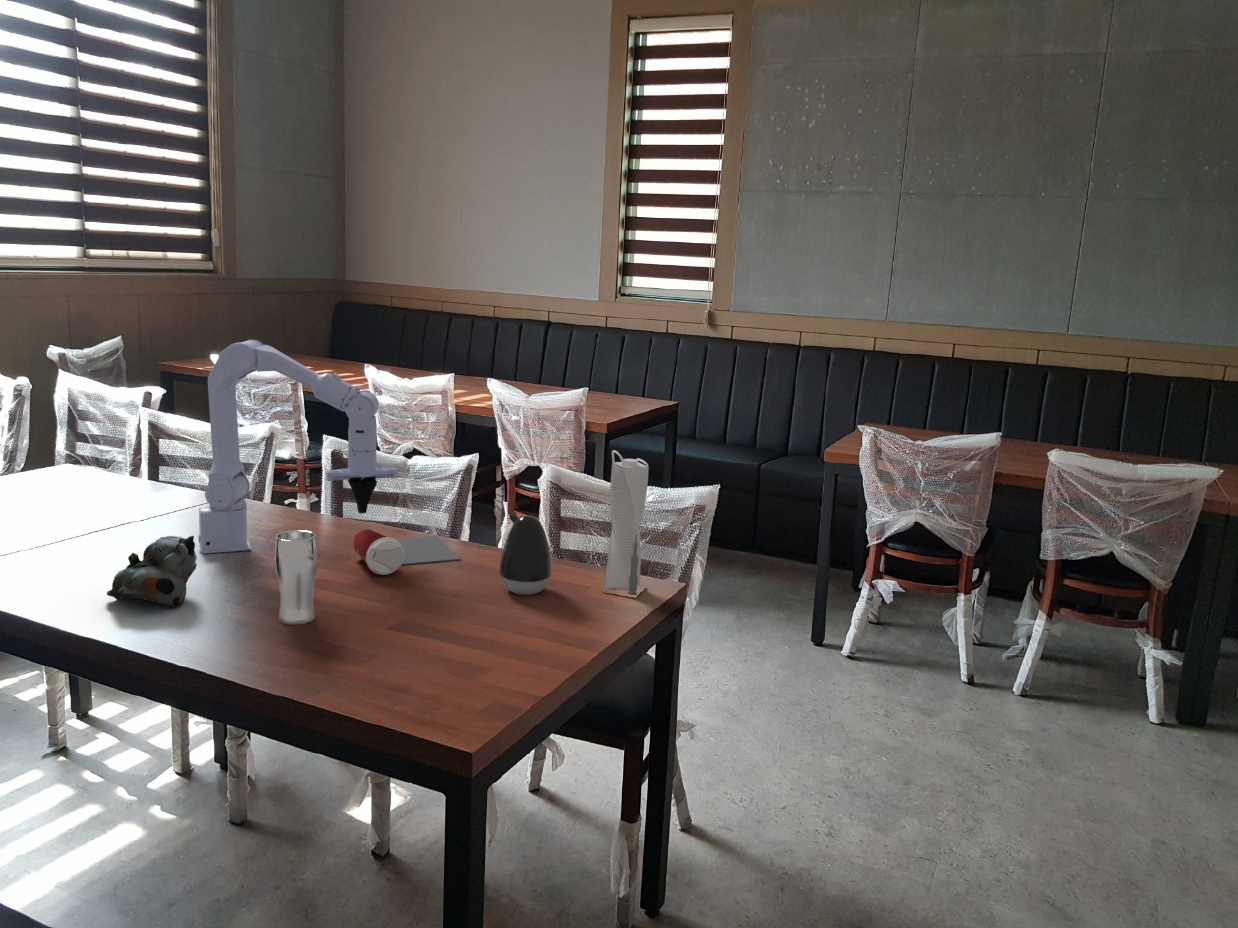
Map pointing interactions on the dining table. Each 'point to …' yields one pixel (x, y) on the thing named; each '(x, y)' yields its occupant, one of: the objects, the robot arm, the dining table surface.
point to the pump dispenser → (526, 557)
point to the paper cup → (379, 551)
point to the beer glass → (296, 575)
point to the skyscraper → (626, 523)
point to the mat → (426, 550)
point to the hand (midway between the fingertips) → (362, 512)
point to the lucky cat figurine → (158, 572)
